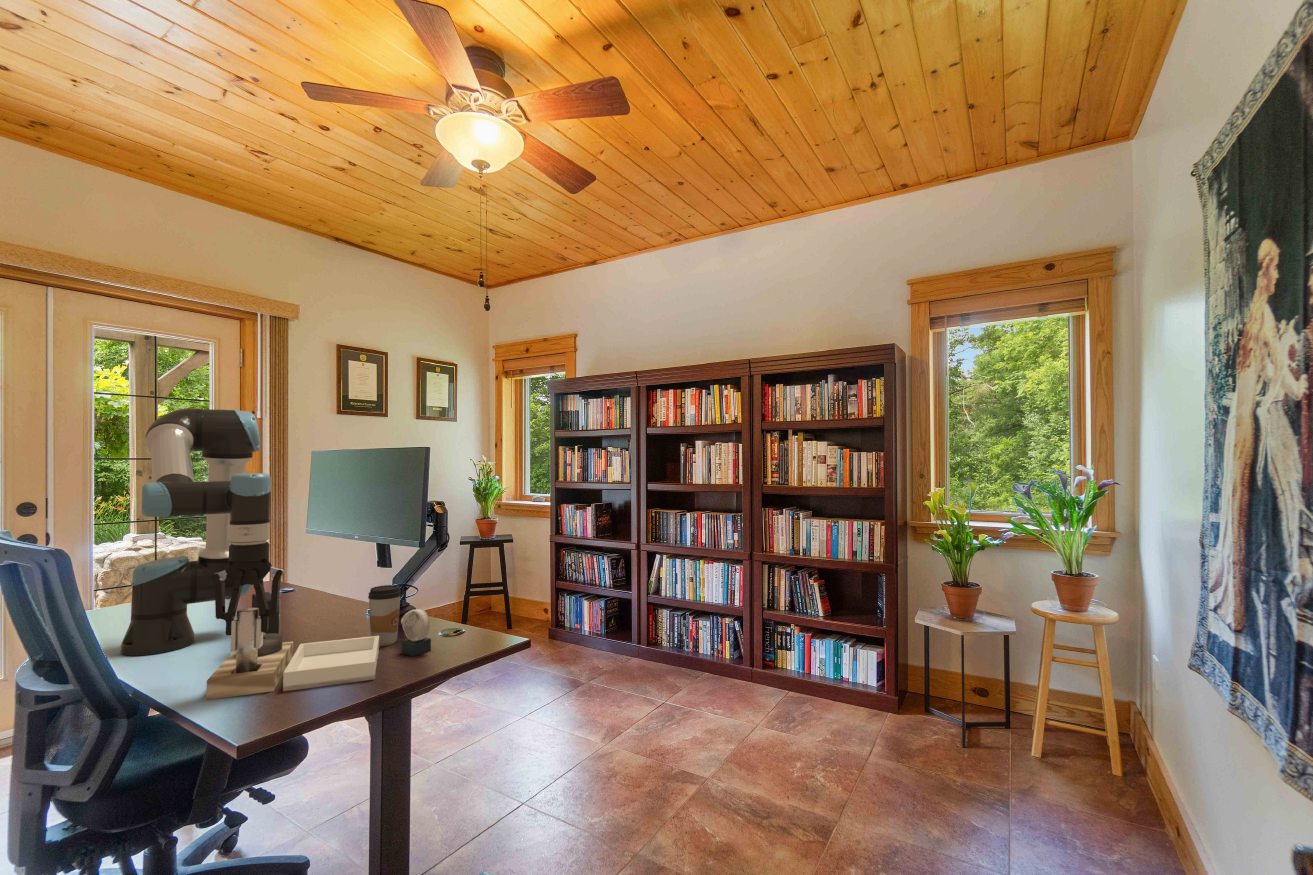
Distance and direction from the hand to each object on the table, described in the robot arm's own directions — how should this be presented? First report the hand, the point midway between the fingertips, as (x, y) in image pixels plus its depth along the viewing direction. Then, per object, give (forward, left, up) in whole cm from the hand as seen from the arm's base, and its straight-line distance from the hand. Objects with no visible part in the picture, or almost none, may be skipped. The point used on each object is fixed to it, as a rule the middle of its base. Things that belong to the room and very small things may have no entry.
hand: (247, 647), depth 132 cm
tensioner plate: (-7, 0, -9) cm, 11 cm away
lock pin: (0, 0, -6) cm, 6 cm away
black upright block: (-25, -1, -9) cm, 26 cm away
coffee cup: (-23, +27, -9) cm, 36 cm away
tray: (-5, +17, -9) cm, 20 cm away
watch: (-11, +35, -9) cm, 38 cm away
